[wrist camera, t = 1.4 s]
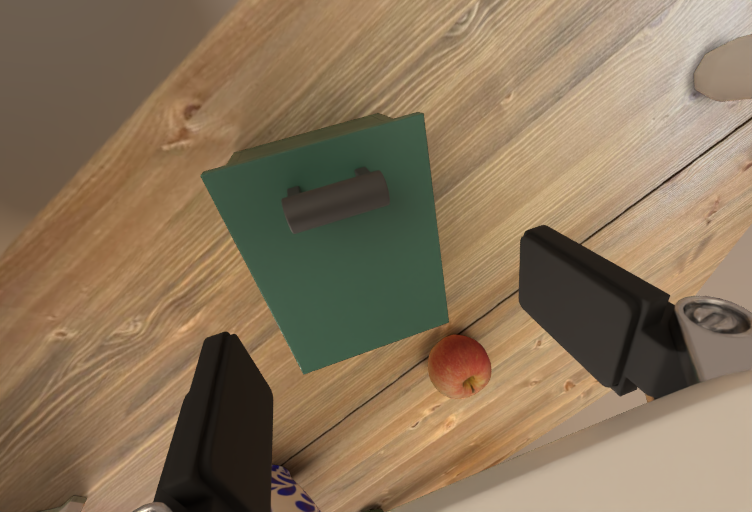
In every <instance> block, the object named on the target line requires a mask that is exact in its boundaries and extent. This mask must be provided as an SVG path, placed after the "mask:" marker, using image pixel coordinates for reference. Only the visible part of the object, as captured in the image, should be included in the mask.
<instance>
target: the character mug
mask: <svg viewBox="0 0 752 512" xmlns="http://www.w3.org/2000/svg"><path fill="white" fill-rule="evenodd" d="M365 512H384V511H383V510H382V509H376V510H372V509H370V510H369V511H365Z"/></svg>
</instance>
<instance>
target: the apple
mask: <svg viewBox="0 0 752 512" xmlns="http://www.w3.org/2000/svg"><path fill="white" fill-rule="evenodd" d="M428 372H429V376H430V379H431V382H432V383H433V385H434V386H435V387H436V389H437V390H438V391H439V392H440V393H442V394H443V395H445V396H447V397H449V398H452V399H462V398H468V397H470V396H472V395H474V394H476V393H478V392H479V391H480V390H482V389H483V388H484V387H485V386H486V385H487V384H488V382H489V380H490V378H491V363H490V360H489V357H488V355H487V353H486V351H485V349H484V348H483V347H482V345H481V344H480V343H478V342H477V341H476V340H474V339H472V338H470V337H467V336H462V335H449V336H447V337H445V338H443V339H442V340H441V341H439V342H438V343H437V344H436V345H435V346H434V347H433V348H432V350H431V352H430V354H429V358H428Z"/></svg>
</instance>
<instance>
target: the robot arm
mask: <svg viewBox="0 0 752 512" xmlns="http://www.w3.org/2000/svg"><path fill="white" fill-rule="evenodd" d="M669 297H670V295H669V294H667V293H665V292H664V291H662V290H660V289H658V288H657V287H655V286H653V285H651V284H649V283H648V282H646V281H644V280H642V279H641V278H639V277H637V276H635V275H633V274H632V273H630V272H628V271H626V270H625V269H623V268H621V267H619V266H617V265H616V264H614V263H612V262H610V261H609V260H607V259H605V258H603V257H601V256H600V255H598V254H596V253H594V252H593V251H591V250H589V249H587V248H585V247H584V246H582V245H580V244H578V243H577V242H575V241H573V240H571V239H569V238H568V237H566V236H564V235H562V234H561V233H559V232H557V231H555V230H554V229H552V228H550V227H548V226H546V225H541V226H538V227H535V228H532V229H529V230H527V231H525V233H524V236H523V237H522V238H521V240H520V270H519V303H520V305H521V307H522V308H523V309H524V310H525V311H526V312H527V313H528V314H529V315H530V316H531V317H532V318H533V319H534V320H535V321H536V322H537V323H538V324H539V325H540V326H541V327H542V328H543V329H544V330H545V331H547V332H548V333H549V334H550V335H551V336H552V337H553V338H554V339H555V340H556V341H557V342H558V343H559V344H560V345H561V346H562V347H563V348H564V349H565V350H566V351H567V352H568V353H569V354H570V355H572V356H573V357H574V358H575V359H576V360H577V361H578V362H579V363H580V364H581V365H582V366H583V367H584V368H585V369H586V370H587V371H588V372H589V373H590V374H591V375H592V376H593V377H594V378H595V379H596V380H598V381H599V382H600V383H601V384H602V385H603V386H605V387H610V388H611V389H613V390H614V391H615V392H616V393H617V394H618V395H619V396H622V395H625V394H627V393H630V392H632V391H634V390H637V387H638V388H640V389H641V390H642V391H643V392H644V393H645V395H646V399H647V403H646V404H643V405H641V406H638V407H635V408H633V409H631V410H628V411H626V412H623V413H621V414H619V415H616V416H614V417H611V418H609V419H606V420H604V421H602V422H599V423H597V424H595V425H592V426H589V427H587V428H585V429H582V430H580V431H577V432H575V433H572V434H570V435H568V436H565V437H563V438H560V439H558V440H555V441H553V442H551V443H548V444H546V445H544V446H541V447H539V448H536V449H534V450H531V451H529V452H527V453H524V454H522V455H520V456H517V457H515V458H513V459H510V460H508V461H506V462H503V463H500V464H498V465H496V466H493V467H491V468H488V469H486V470H484V471H481V472H479V473H477V474H474V475H472V476H469V477H467V478H465V479H462V480H460V481H457V482H455V483H453V484H450V485H448V486H446V487H443V488H441V489H438V490H436V491H434V492H431V493H429V494H427V495H424V496H422V497H420V498H417V499H415V500H412V501H410V502H408V503H405V504H403V505H401V506H398V507H396V508H394V509H391V510H389V511H387V512H752V313H751V312H749V311H748V310H747V309H745V308H744V307H741V306H739V305H737V304H735V303H732V302H730V301H726V300H723V299H720V298H714V297H708V296H691V297H685V298H683V299H681V300H679V301H678V302H677V303H676V305H673V304H672V303H670V302H668V300H669ZM272 436H273V394H272V391H271V389H270V387H269V385H268V384H267V382H266V381H265V379H264V377H263V376H262V374H261V373H260V371H259V369H258V368H257V366H256V365H255V363H254V361H253V360H252V358H251V357H250V355H249V354H248V352H247V350H246V349H245V347H244V346H243V344H242V342H241V341H240V339H239V338H238V336H237V335H236V334H232V335H230V334H229V333H228V332H222V333H219V334H216V335H213V336H210V337H207V338H206V339H205V340H204V343H203V346H202V350H201V353H200V357H199V360H198V364H197V367H196V371H195V374H194V377H193V381H192V384H191V388H190V391H189V393H188V394H187V395H186V396H185V399H184V401H183V404H182V407H181V411H180V414H179V417H178V421H177V424H176V428H175V431H174V434H173V438H172V441H171V444H170V448H169V451H168V454H167V458H166V461H165V464H164V468H163V471H162V474H161V478H160V481H159V484H158V488H157V491H156V494H155V498H154V501H153V502H152V503H149V504H146V505H143V506H141V507H139V508H138V509H136V510H134V511H133V512H271V480H272Z"/></svg>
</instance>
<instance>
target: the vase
mask: <svg viewBox="0 0 752 512" xmlns="http://www.w3.org/2000/svg"><path fill="white" fill-rule="evenodd" d="M271 512H320V510H319V509H318V507H317V506H316V505H315V503H314V502H313V501H312V499H311V498H310V497H309V496H308V495H307V494H306V492H305V491H304V490H303V489H302V488H301V487H300V486H299V485H298V484H297V483H296V482H295V481H294V480H293V479H292V478H291V477H290V473H289V471H288V470H287V469H285V468H284V467H281V466H278V465H272V480H271Z"/></svg>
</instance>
